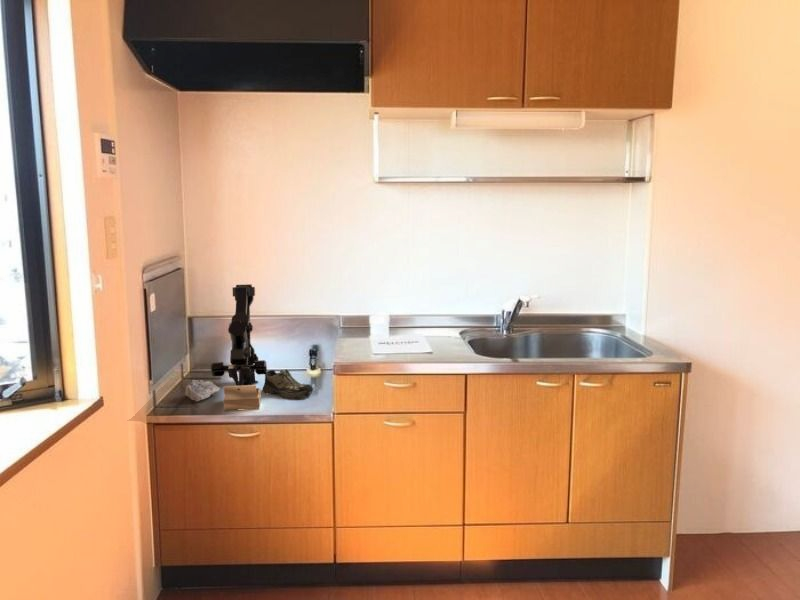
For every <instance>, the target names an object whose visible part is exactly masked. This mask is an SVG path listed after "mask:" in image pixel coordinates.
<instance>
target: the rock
mask: <svg viewBox="0 0 800 600" xmlns="http://www.w3.org/2000/svg"><path fill="white" fill-rule="evenodd" d="M220 390H221V387H219V386H217V385H216V384H214V382H212V381H210V380H208V381H207V380H206V381H204V380H202V379H199V380H196V379H192V380H191V382H190V383H188V384H187V385H186V387H185V396H186V397H188V398H189V399H190V400H192V401H195V402H200V401H202V400H206V399H207V398H210V397H211V396H212V395H215V394H217V393H218V392H220Z"/></svg>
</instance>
